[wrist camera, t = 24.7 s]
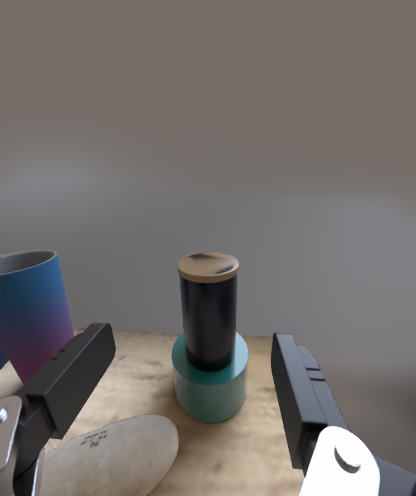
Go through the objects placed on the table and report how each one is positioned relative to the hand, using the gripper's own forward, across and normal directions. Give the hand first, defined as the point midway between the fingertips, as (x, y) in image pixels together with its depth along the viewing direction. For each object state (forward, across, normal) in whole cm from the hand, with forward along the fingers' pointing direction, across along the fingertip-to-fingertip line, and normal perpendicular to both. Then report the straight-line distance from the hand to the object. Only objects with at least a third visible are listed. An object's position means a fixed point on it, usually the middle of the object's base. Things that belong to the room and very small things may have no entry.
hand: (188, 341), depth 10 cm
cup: (+8, +19, +15) cm, 25 cm away
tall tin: (+9, 0, +10) cm, 13 cm away
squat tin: (+9, 0, +14) cm, 17 cm away
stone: (-1, +7, +15) cm, 16 cm away
